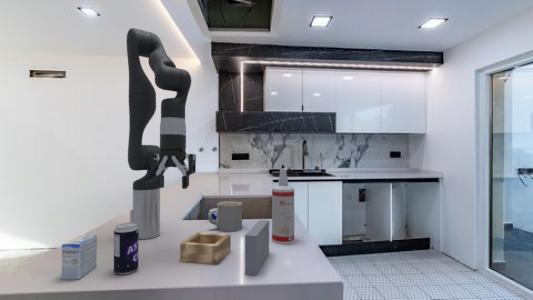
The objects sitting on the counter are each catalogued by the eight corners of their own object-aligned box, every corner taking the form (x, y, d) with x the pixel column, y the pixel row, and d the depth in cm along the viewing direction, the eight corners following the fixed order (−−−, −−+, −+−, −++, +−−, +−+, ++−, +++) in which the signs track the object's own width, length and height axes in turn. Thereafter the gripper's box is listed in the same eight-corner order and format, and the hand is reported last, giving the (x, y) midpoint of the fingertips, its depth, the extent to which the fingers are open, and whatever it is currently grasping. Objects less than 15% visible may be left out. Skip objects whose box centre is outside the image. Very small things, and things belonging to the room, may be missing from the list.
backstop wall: (245, 275, 71) (245, 235, 71) (259, 252, 87) (259, 220, 87) (256, 276, 71) (256, 235, 71) (269, 253, 86) (269, 220, 86)
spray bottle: (282, 236, 104) (282, 167, 104) (298, 240, 99) (298, 168, 99) (267, 241, 98) (267, 168, 98) (283, 246, 93) (283, 169, 93)
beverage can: (128, 277, 70) (128, 228, 70) (108, 275, 71) (108, 227, 71) (143, 268, 75) (143, 222, 76) (124, 266, 77) (124, 221, 77)
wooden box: (180, 261, 80) (180, 243, 80) (197, 248, 90) (197, 232, 90) (217, 264, 77) (217, 246, 77) (230, 250, 88) (230, 234, 88)
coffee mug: (241, 225, 120) (241, 201, 120) (242, 231, 110) (242, 205, 110) (209, 226, 118) (209, 201, 118) (207, 232, 108) (207, 206, 108)
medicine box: (79, 267, 76) (79, 234, 76) (97, 266, 77) (97, 234, 77) (61, 280, 68) (61, 244, 68) (80, 279, 69) (80, 243, 69)
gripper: (144, 133, 84) (144, 189, 84) (189, 132, 81) (189, 190, 81) (158, 134, 91) (158, 186, 91) (200, 134, 89) (200, 187, 88)
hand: (172, 188), depth 86 cm, fingers open, 7 cm apart
